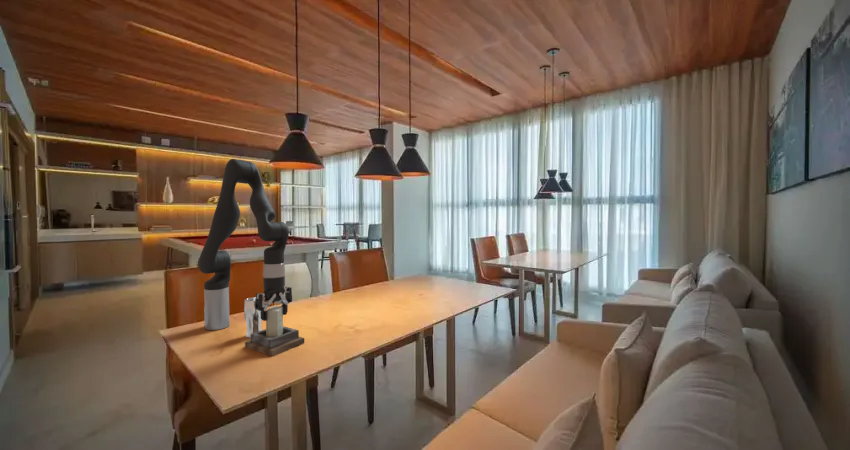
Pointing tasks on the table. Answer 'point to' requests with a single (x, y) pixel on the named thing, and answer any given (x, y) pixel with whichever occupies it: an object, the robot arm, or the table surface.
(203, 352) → the table surface
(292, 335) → the pocket stand
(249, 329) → the beer glass
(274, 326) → the skincare box
